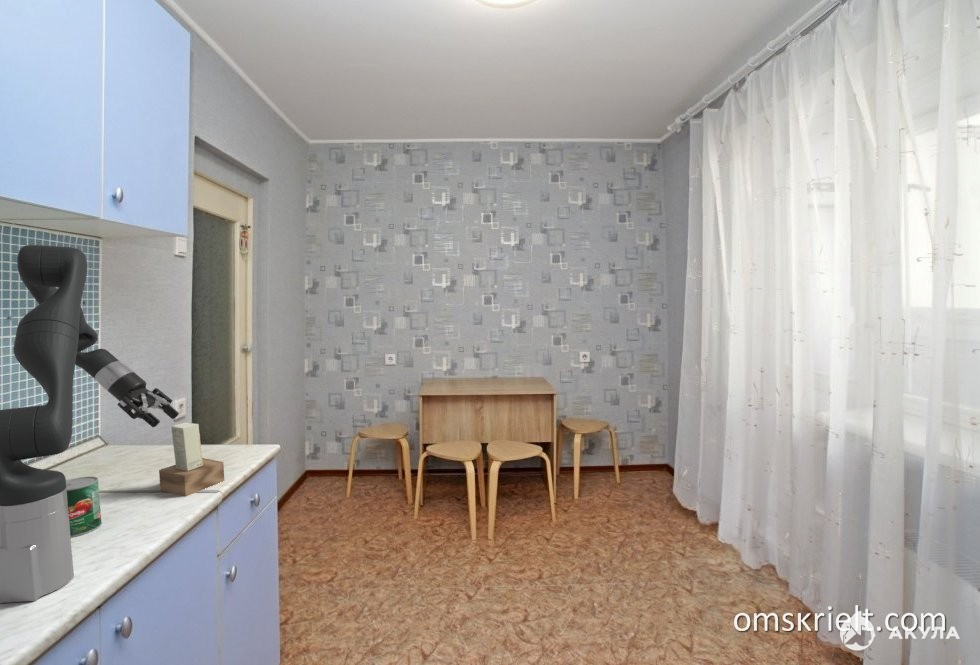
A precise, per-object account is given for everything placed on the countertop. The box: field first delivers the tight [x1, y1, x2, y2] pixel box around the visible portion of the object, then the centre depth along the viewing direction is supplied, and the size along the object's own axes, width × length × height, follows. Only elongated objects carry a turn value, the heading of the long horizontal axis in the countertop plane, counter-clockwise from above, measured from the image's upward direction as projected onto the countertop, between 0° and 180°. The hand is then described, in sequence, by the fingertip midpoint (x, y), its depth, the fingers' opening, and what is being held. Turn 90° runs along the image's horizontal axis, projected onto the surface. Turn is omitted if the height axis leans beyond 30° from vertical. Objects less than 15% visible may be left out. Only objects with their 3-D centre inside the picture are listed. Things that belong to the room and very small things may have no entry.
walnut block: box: [158, 457, 225, 497], centre depth 129 cm, size 11×11×6 cm
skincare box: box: [170, 421, 203, 471], centre depth 127 cm, size 6×4×12 cm
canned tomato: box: [66, 476, 103, 538], centre depth 104 cm, size 8×8×11 cm
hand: (167, 420), depth 128 cm, fingers open, 8 cm apart
